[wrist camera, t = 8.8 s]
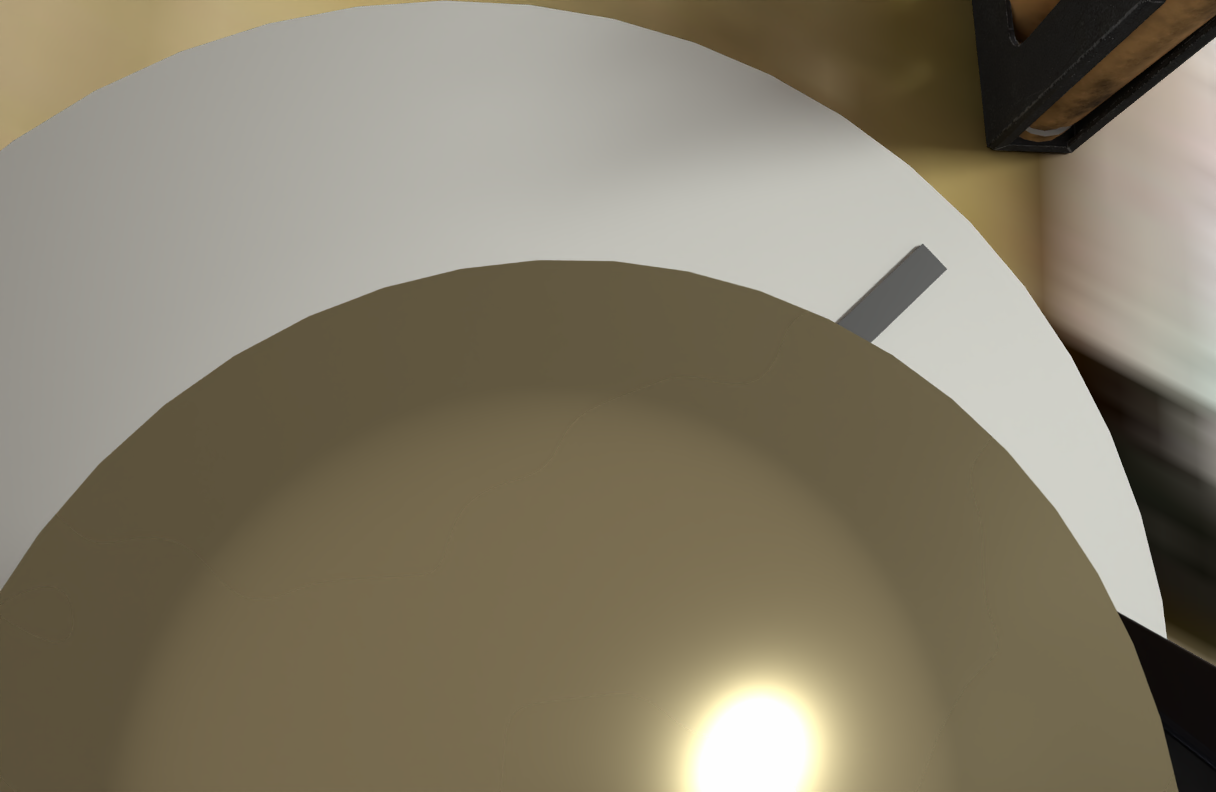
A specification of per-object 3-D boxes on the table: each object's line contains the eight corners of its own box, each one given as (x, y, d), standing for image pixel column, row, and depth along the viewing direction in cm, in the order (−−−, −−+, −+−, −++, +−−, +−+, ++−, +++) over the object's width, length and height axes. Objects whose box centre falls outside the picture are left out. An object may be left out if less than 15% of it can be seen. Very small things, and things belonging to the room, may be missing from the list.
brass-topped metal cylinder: (479, 1035, 15) (554, 2215, 4) (166, 681, 15) (-561, 887, 4) (802, 694, 16) (1482, 880, 5) (512, 379, 16) (622, -31, 6)
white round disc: (431, 1912, 14) (430, 2023, 13) (-637, 646, 15) (-722, 649, 13) (1370, 690, 19) (1426, 696, 18) (536, -187, 20) (541, -233, 19)
